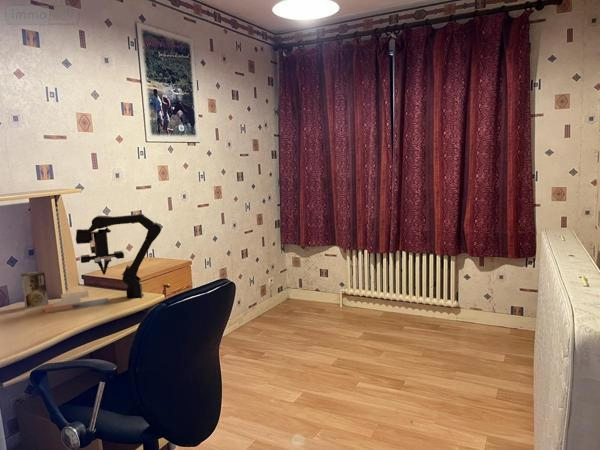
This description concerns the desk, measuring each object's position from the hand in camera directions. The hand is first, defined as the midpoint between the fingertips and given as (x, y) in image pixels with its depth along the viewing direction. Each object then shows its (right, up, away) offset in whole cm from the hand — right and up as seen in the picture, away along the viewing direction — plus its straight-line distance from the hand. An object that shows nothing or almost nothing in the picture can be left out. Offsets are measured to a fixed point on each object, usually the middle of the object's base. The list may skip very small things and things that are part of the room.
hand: (104, 274), depth 213 cm
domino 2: (-8, -11, -7) cm, 15 cm away
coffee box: (-30, -15, -4) cm, 34 cm away
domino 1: (-11, -13, -8) cm, 19 cm away
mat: (-8, -14, -6) cm, 17 cm away
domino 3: (-5, -8, -5) cm, 11 cm away
